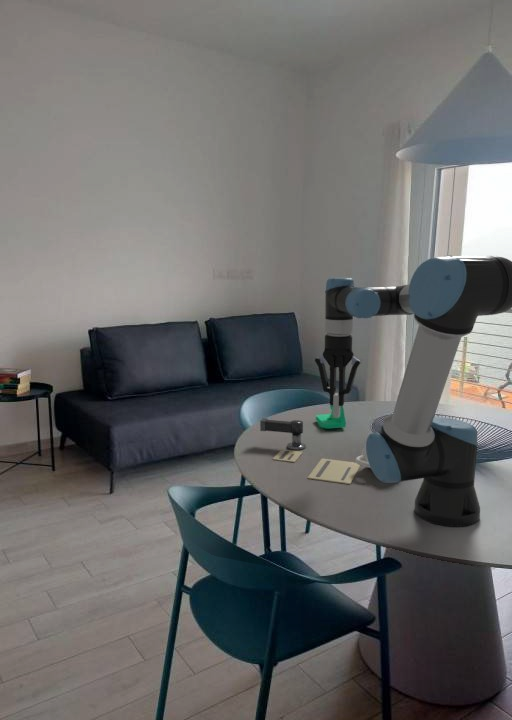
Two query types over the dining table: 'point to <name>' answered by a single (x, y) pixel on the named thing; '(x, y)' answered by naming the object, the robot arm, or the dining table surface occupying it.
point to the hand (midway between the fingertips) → (336, 416)
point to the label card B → (334, 471)
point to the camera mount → (331, 419)
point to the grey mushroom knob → (296, 443)
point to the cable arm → (282, 426)
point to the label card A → (288, 455)
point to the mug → (363, 459)
